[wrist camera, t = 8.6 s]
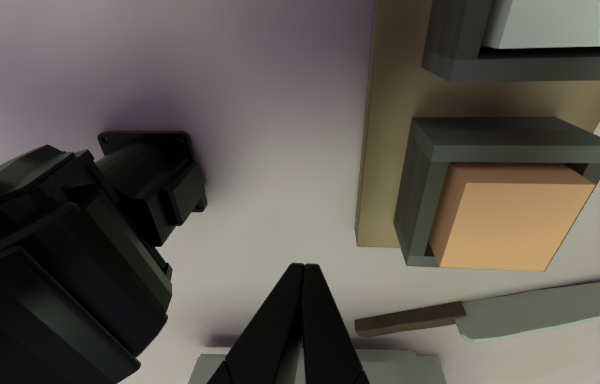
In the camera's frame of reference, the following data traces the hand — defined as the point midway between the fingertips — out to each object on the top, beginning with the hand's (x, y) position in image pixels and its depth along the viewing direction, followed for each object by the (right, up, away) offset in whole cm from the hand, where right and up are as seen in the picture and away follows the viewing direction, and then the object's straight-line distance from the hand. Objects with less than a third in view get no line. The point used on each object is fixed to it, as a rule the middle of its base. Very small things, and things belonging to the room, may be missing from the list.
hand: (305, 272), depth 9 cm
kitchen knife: (+19, -6, +17) cm, 26 cm away
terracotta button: (+10, +3, +8) cm, 13 cm away
